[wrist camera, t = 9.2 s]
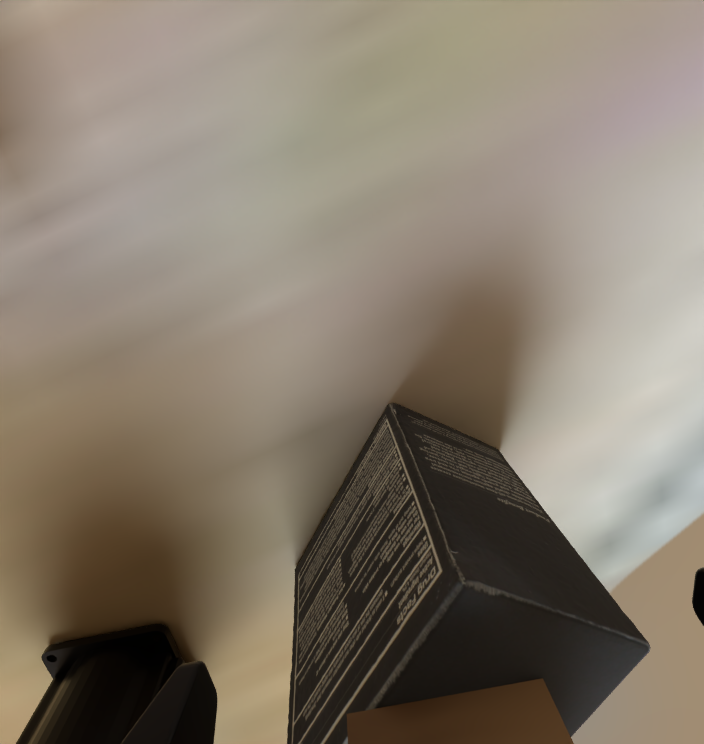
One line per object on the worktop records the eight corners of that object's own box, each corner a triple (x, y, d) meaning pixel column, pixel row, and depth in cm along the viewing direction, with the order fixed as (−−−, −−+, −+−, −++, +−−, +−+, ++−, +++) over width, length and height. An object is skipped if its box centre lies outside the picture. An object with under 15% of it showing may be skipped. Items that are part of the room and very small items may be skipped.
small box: (402, 607, 24) (458, 883, 14) (291, 570, 23) (267, 846, 13) (507, 450, 21) (673, 658, 11) (387, 397, 20) (453, 580, 10)
